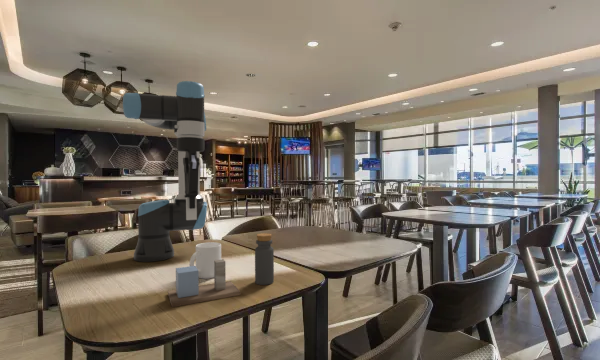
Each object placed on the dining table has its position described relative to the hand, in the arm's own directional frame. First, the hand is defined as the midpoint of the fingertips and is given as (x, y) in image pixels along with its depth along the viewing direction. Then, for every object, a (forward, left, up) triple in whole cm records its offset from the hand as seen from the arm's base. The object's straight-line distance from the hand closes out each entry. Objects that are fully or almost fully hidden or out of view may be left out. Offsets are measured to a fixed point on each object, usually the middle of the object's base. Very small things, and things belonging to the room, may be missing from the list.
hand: (191, 219), depth 93 cm
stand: (+4, +3, -21) cm, 22 cm away
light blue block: (+4, -2, -20) cm, 20 cm away
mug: (-12, +6, -21) cm, 25 cm away
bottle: (+2, +22, -21) cm, 30 cm away
